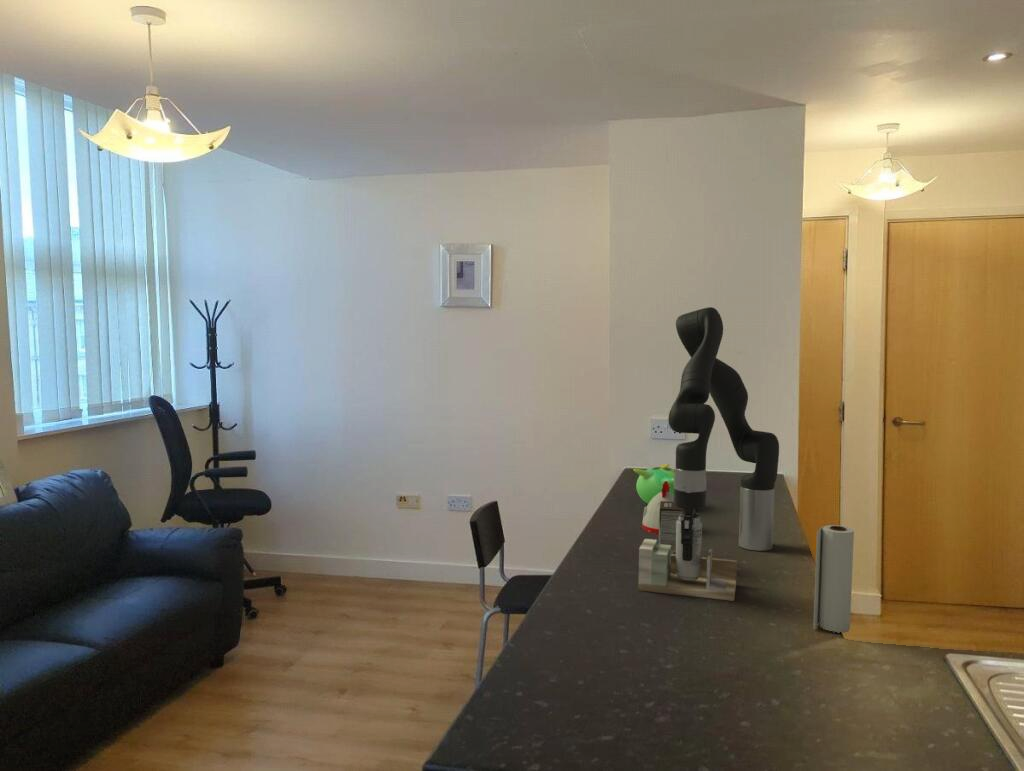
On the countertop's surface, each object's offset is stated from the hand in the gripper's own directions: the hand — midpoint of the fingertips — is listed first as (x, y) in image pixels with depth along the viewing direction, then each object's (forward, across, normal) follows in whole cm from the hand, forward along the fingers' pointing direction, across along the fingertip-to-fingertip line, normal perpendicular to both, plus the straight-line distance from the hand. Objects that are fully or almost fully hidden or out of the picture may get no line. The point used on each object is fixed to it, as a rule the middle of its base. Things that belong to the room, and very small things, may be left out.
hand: (688, 556), depth 187 cm
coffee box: (+8, -18, -6) cm, 21 cm away
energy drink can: (+5, 0, 0) cm, 5 cm away
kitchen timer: (+8, -54, -12) cm, 56 cm away
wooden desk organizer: (+8, -1, 0) cm, 8 cm away
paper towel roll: (+8, +15, +31) cm, 35 cm away
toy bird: (+8, -84, -17) cm, 86 cm away
